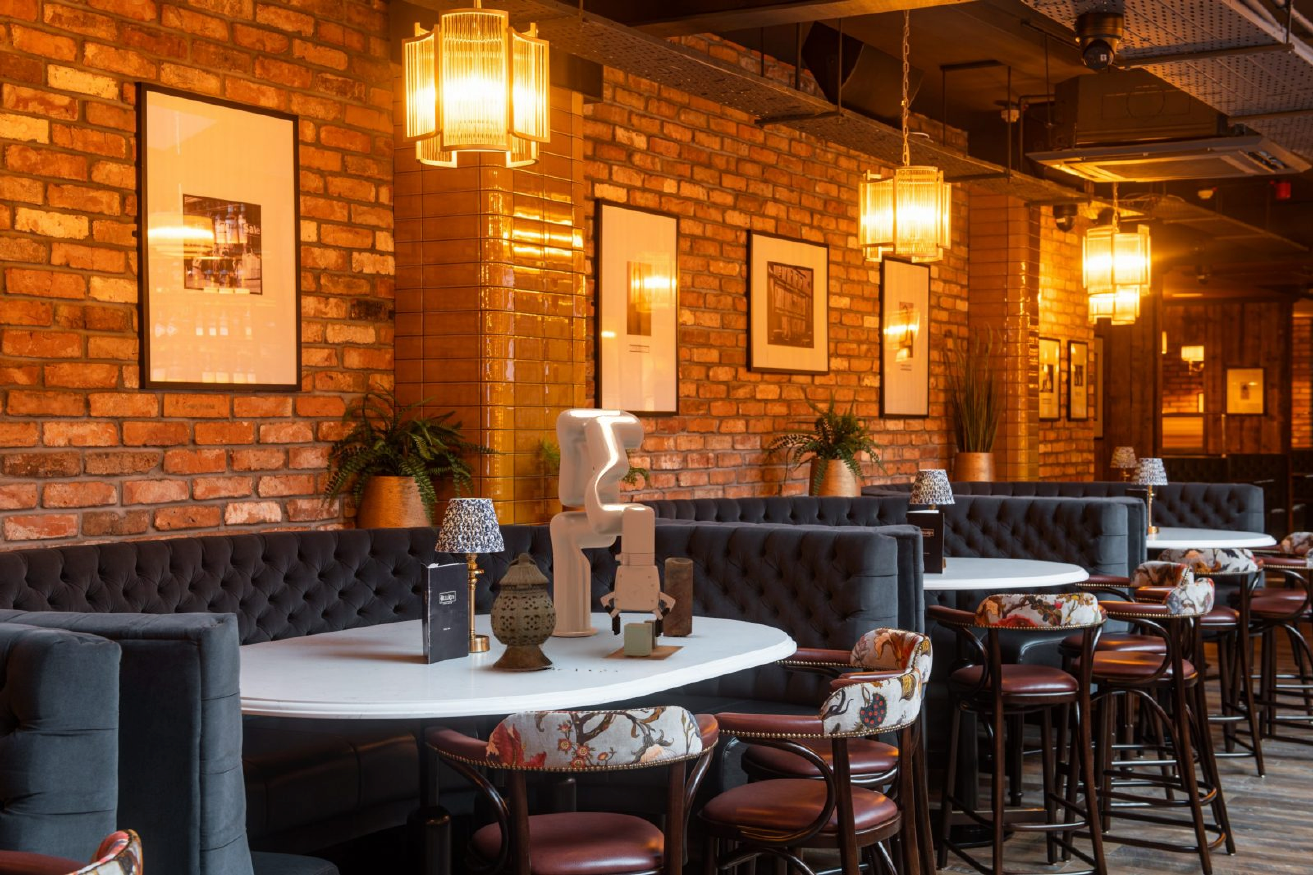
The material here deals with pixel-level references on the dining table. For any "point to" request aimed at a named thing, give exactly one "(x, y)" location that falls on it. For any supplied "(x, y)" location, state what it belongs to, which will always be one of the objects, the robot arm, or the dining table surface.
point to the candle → (678, 597)
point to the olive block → (638, 639)
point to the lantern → (523, 618)
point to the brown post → (653, 633)
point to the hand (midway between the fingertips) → (637, 635)
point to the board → (656, 654)
